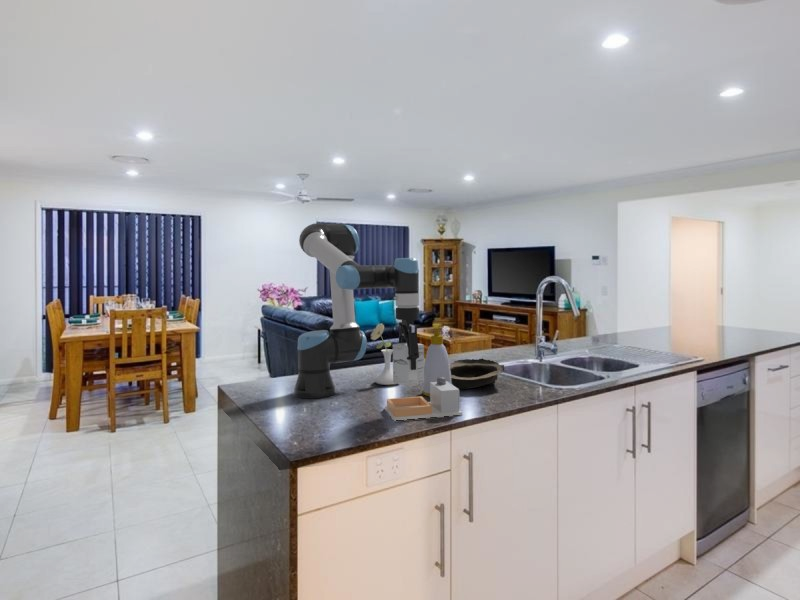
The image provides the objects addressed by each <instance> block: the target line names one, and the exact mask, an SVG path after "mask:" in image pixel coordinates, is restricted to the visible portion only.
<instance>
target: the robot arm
mask: <svg viewBox="0 0 800 600" xmlns="http://www.w3.org/2000/svg"><path fill="white" fill-rule="evenodd" d="M298 240H299V241H298V242H299V246H300V248H301V250H302V252H304V253H305V254H306V255H307V256H308V257H311V258H315V259H316V260H317V261H319V262H320V263H321V264H322V265H323V266H324V267H325V268H327V269H328V271H329V280H330V293H331V297H330V298H331V309H332V323H333V324H332V325H331V326H330V328H329V330H327V329H326V330H325V329H319V330H312V331H308V332H305V333H302V334H300V335H299V336H298V337H297V347H296V348H297V363H298V365H297V366H298V370H297V371H298V375H297V378H296V382H295V385H294V390H293V391H294V392H293V393H294V396H295V397H296V396H297V398H300V397H301V398H302V399H320V398H322V399H323V398H326V397H331V396H333V395H334V394H335V392H336V386H335V383H334V380H333V377H332V375H331V370H330V367H331V366H330V365H331V364H332V365H333V364H339V363H345V362H346V363H347V362H350V363H351V362H354V361H359V360H361V358H363V357H364V355H365V354H366V350H367V346H368V345H367V344H368V340H367V337H366V334H365V332H364V331H362V330H361V328H360V325H359V324H358V323H357V322H356V315H355V314H356V313H355V300H354V297H355V296H354V290H364V289H365V290H366V289H393V288H394V289H395V290H394V295H395V296H393V300H395V306H396V308H395V319H396V320H399V323H398V328H399V330H398V344H399V343H407V346H408V355H409V357H407V360H408V380H417V358H419V350H418V344H419V341H418V326H417V325H415V324H414V323H415V322H414V320H418V319H419V318H420V308H419V305H420V293H419V292H420V287H419V282H420V280H419V279H420V278H419V272H420V269H419V261H418V259H417V258H415V257H401V258H400V257H397V258H395V260H394V264H393V265H391V264H389V265H386V264H385V265H384V264H383V265H367V264H366V265H365V264H364V265H363V264H362V265H361V264H359V263H357V262H356V261H354V259H355V254H357V253H358V251H359V249H360V237H359V234H358V232H357V230H356V229H355V228H354V226H352V225H350V224H344V223H321V222H317V223H312V224H309V225H308V226H306V227H304V228H303V229H302V231H301V233H300V235H299V238H298ZM301 398H300V399H301Z"/></svg>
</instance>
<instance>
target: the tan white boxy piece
mask: <svg viewBox="0 0 800 600" xmlns="http://www.w3.org/2000/svg"><path fill="white" fill-rule="evenodd" d="M429 399H430V400H429V401H427V400H426V399H425V398H424V397H423V396H421V395H420V396H407V397H396V398H387V399H386V405H384V409H385V411H386V412H387V414H388V415H389V417H390V416H391V417H390V418H391V419H392V421H393V420H394V421H393V422H397V421H396V420H404V421H408V420H407V419H415V420H419V419H418V418H426V419H431V418H430V417H437V418H445V417H444V416H449V417H454V416H453V415H460V416H463V411H461V410H460V388H458V387H457V388H456V387H455V386H453V384H450V383H449V382H447V381H446V378H445V377H437V382H430V397H429Z"/></svg>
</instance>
